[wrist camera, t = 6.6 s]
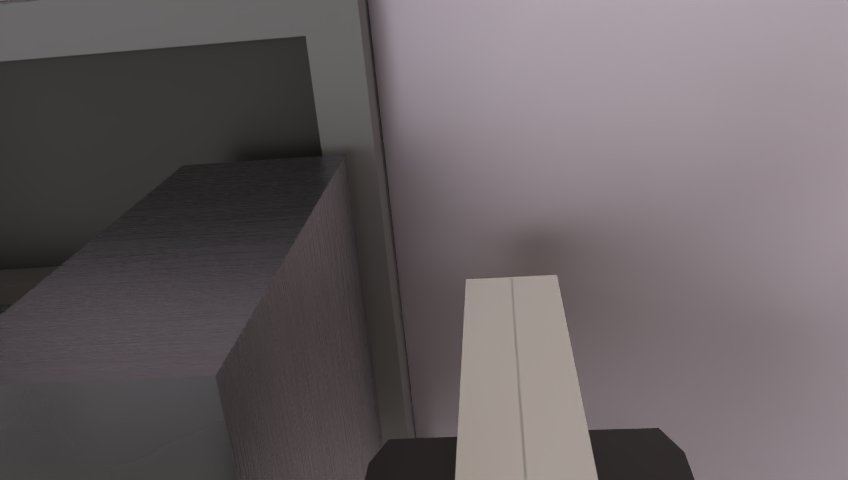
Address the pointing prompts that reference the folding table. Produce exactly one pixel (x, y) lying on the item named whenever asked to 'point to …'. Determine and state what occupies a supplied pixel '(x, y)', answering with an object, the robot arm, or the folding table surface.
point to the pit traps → (189, 128)
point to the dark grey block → (200, 338)
